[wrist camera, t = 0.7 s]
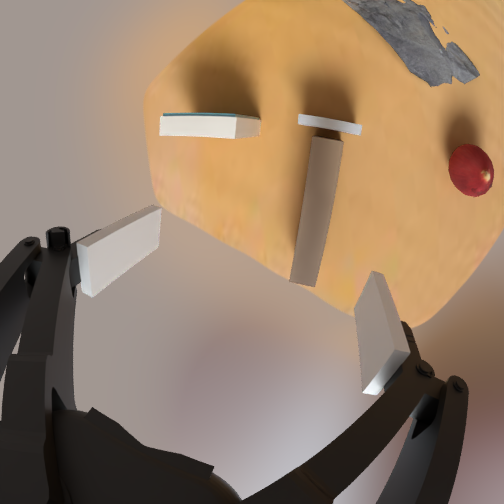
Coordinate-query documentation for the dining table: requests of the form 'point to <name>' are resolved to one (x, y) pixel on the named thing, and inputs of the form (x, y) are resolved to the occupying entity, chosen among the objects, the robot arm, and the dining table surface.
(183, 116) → the tile
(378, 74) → the dining table surface
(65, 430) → the robot arm
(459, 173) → the onion
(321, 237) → the scraper
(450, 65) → the stone slab
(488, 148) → the dining table surface
